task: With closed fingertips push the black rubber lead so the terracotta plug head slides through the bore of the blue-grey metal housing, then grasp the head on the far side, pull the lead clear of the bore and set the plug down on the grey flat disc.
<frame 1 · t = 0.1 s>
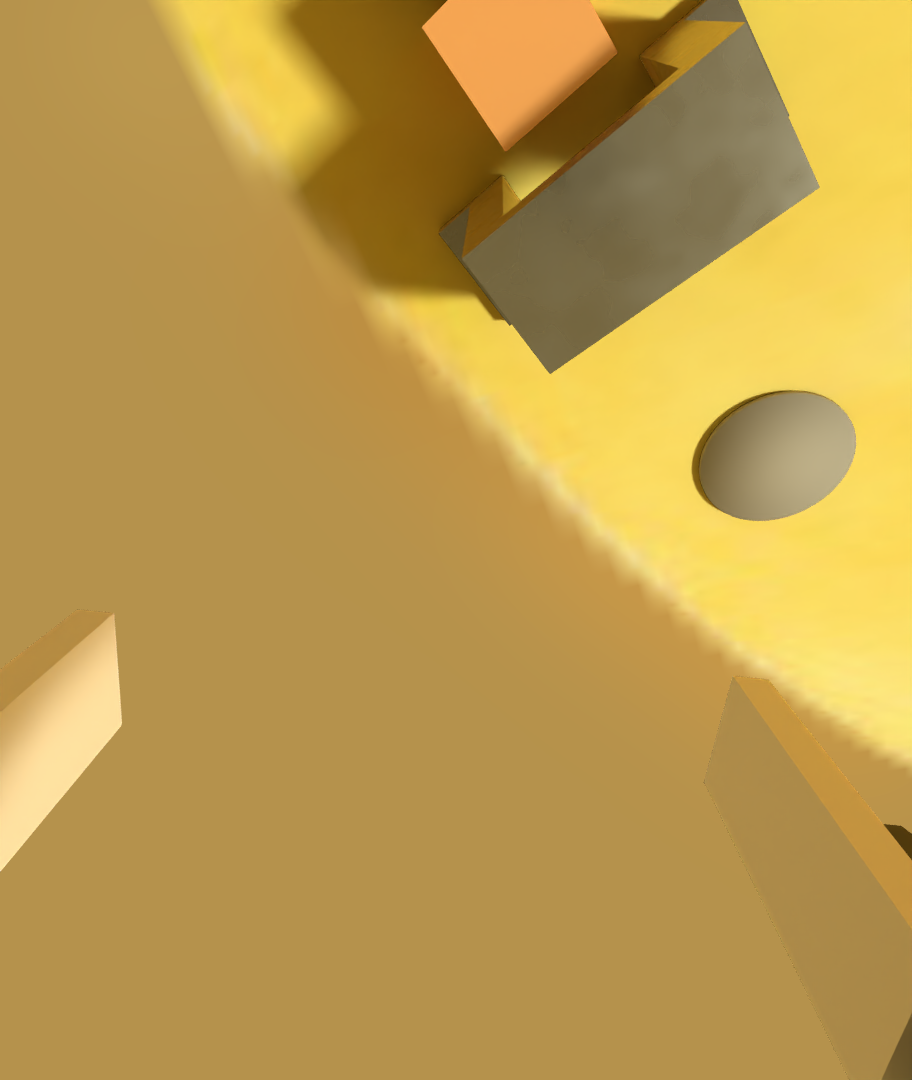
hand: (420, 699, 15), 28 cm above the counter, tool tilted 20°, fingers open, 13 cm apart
housing: (601, 174, 33), on the counter
plug: (516, 35, 30), on the counter
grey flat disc: (774, 458, 42), on the counter
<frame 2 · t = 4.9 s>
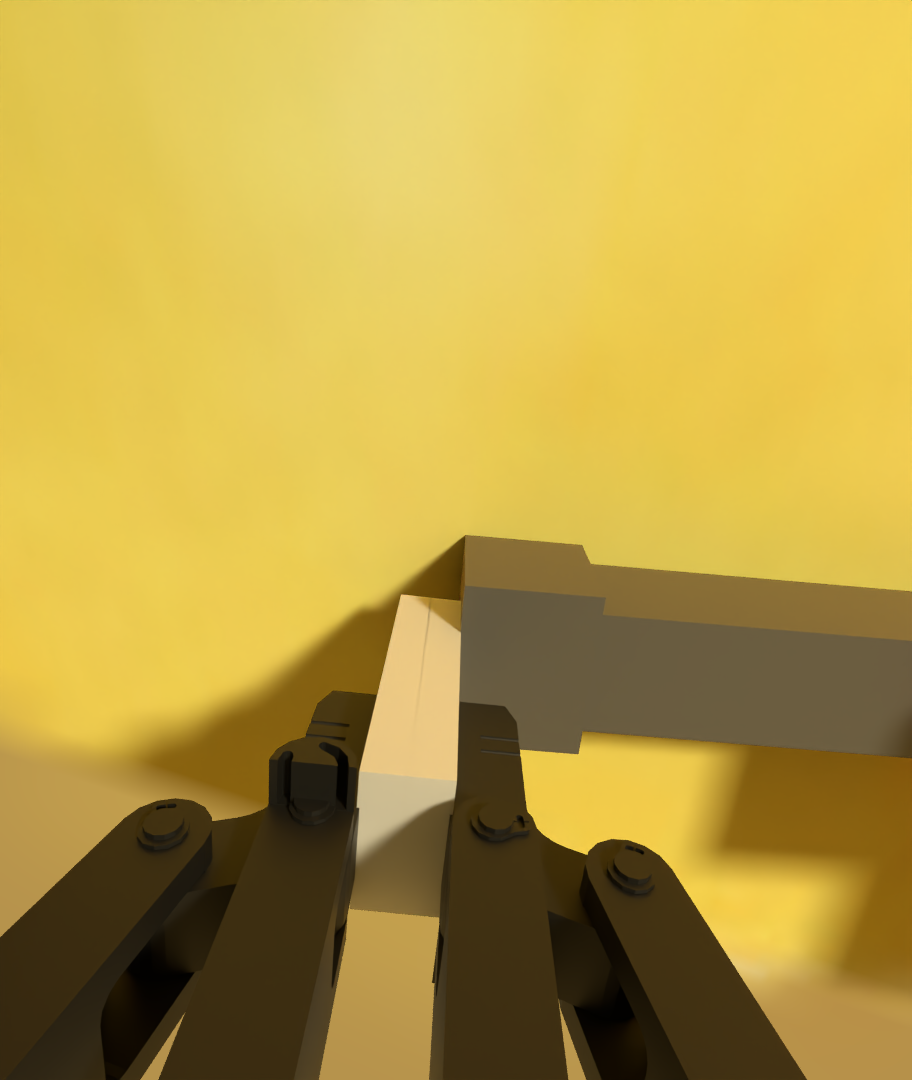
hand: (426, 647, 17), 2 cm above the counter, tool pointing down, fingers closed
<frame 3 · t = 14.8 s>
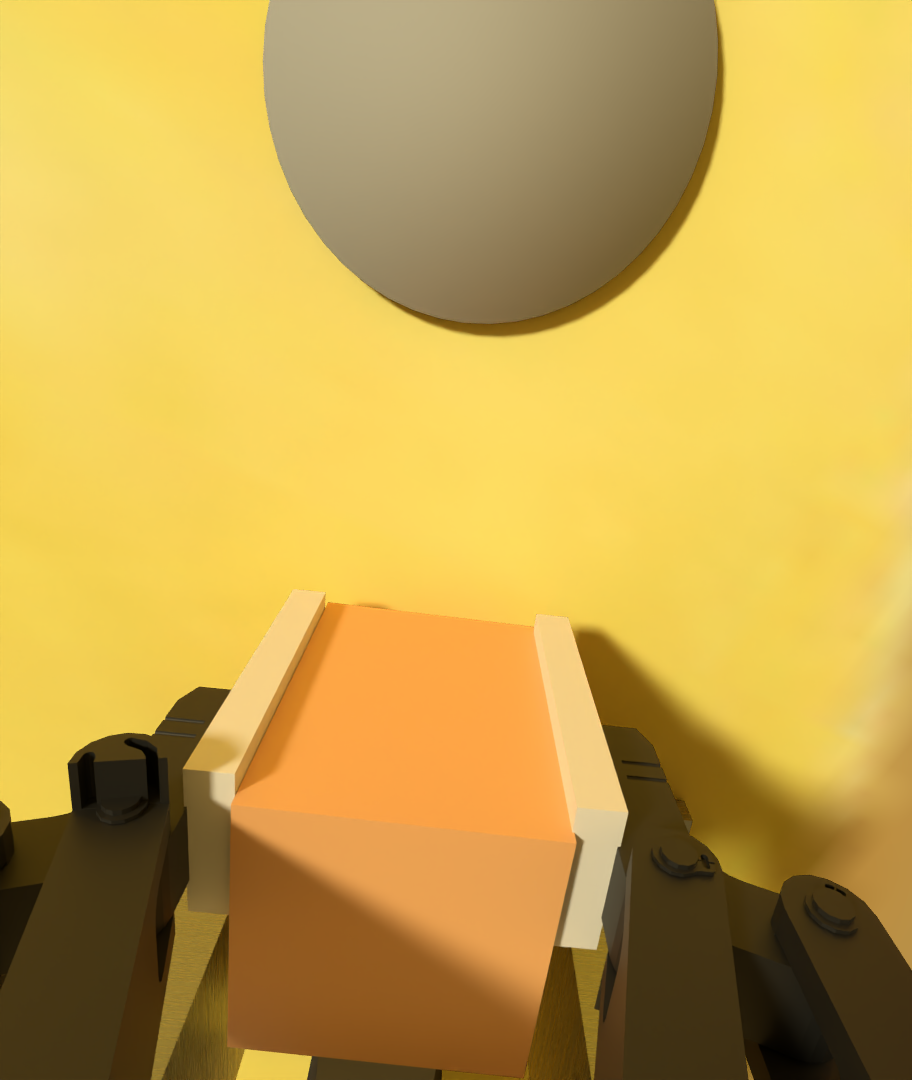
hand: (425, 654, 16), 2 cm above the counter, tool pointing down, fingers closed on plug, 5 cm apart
housing: (410, 855, 21), on the counter
plug: (420, 703, 17), point 1 cm above the counter, touching gripper
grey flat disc: (488, 92, 14), on the counter
when the fingers open (1 cm above the counter, at t = 18.3 s): plug stays where it is, resting on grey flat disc.
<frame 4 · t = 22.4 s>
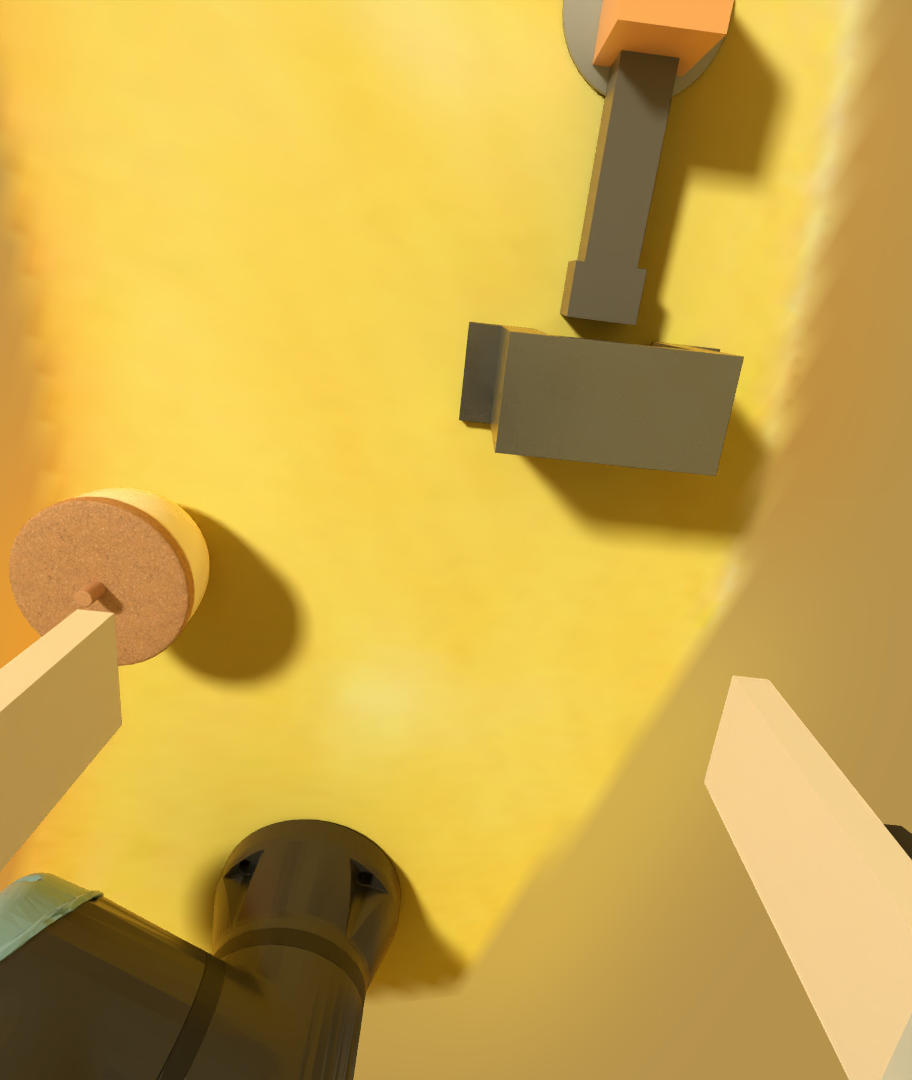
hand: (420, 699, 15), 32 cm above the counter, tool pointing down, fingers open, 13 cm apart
housing: (584, 384, 43), on the counter
plug: (647, 15, 36), point 1 cm above the counter, touching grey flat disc
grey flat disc: (646, 9, 37), on the counter
lidded jar: (156, 542, 48), on the counter
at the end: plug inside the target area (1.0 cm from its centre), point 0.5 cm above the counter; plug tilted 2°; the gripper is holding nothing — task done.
